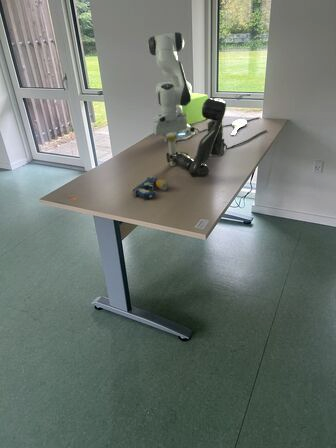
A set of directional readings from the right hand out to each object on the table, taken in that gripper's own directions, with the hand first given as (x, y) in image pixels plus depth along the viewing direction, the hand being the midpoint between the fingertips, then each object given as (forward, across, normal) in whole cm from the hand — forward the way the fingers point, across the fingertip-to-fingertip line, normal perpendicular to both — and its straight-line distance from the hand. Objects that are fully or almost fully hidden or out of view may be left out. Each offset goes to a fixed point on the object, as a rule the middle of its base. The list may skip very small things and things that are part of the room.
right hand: (170, 153), depth 202 cm
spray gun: (-29, +26, +6) cm, 39 cm away
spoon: (+33, -73, +6) cm, 81 cm away
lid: (-3, 0, -11) cm, 11 cm away
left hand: (-3, 0, -9) cm, 10 cm away
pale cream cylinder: (-3, 0, +6) cm, 7 cm away
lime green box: (+81, -59, +6) cm, 101 cm away
